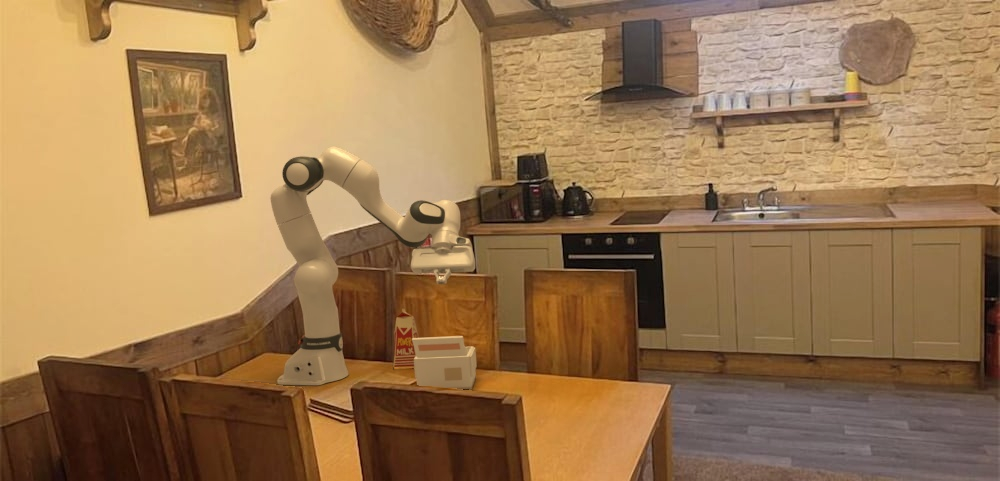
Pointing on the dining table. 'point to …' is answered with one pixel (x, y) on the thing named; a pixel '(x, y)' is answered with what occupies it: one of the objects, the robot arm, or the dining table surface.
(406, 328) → the milk carton
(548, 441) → the dining table surface
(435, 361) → the carton
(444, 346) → the flap
